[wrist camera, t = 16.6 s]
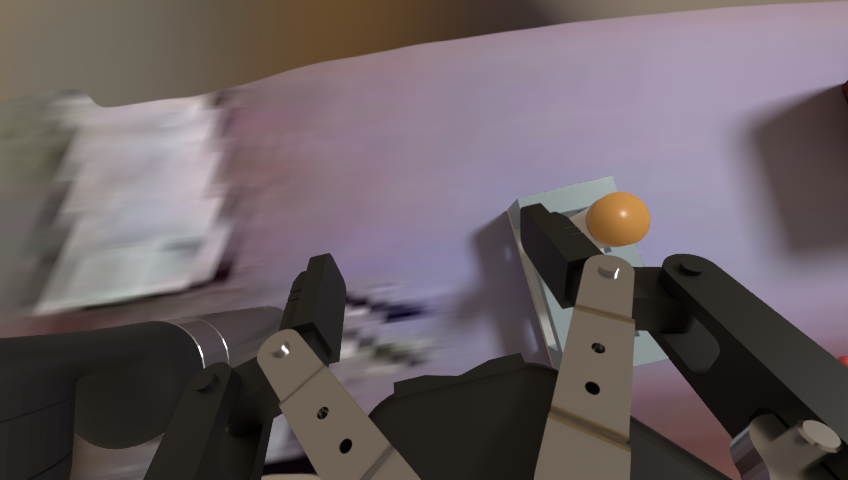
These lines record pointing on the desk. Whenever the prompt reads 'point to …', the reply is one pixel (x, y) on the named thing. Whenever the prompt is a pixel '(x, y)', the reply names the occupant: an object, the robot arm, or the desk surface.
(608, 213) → the orange ball-topped peg
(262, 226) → the desk surface
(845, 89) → the plant pot
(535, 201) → the grey hollow block
